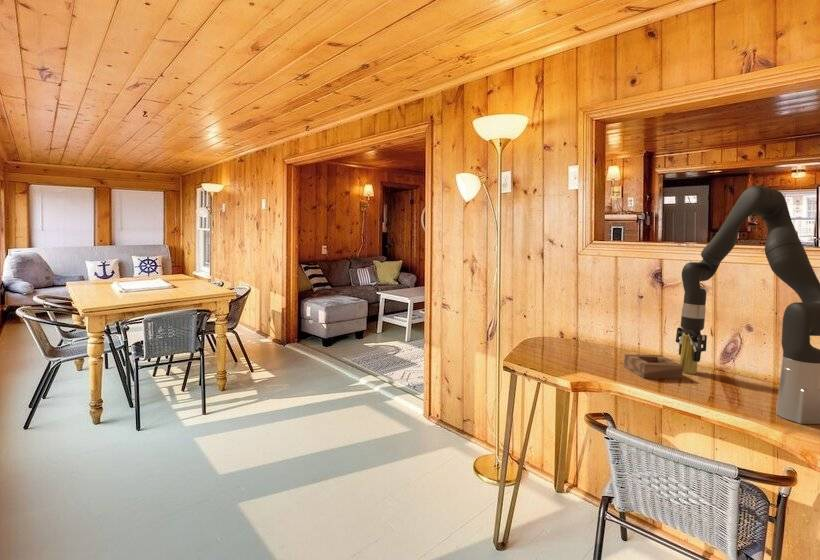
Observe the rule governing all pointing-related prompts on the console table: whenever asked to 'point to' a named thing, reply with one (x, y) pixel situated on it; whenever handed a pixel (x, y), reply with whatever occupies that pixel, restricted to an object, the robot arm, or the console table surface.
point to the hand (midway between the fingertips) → (688, 358)
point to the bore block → (653, 366)
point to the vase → (688, 356)
